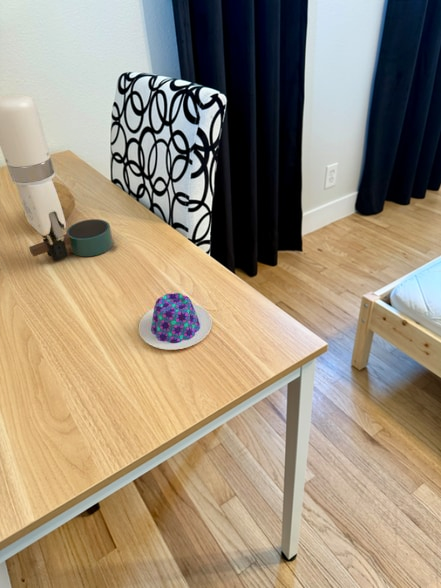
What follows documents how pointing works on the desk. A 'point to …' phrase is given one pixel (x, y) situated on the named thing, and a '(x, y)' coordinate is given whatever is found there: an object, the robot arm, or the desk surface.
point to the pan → (83, 238)
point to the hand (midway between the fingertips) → (58, 255)
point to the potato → (65, 199)
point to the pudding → (175, 323)
